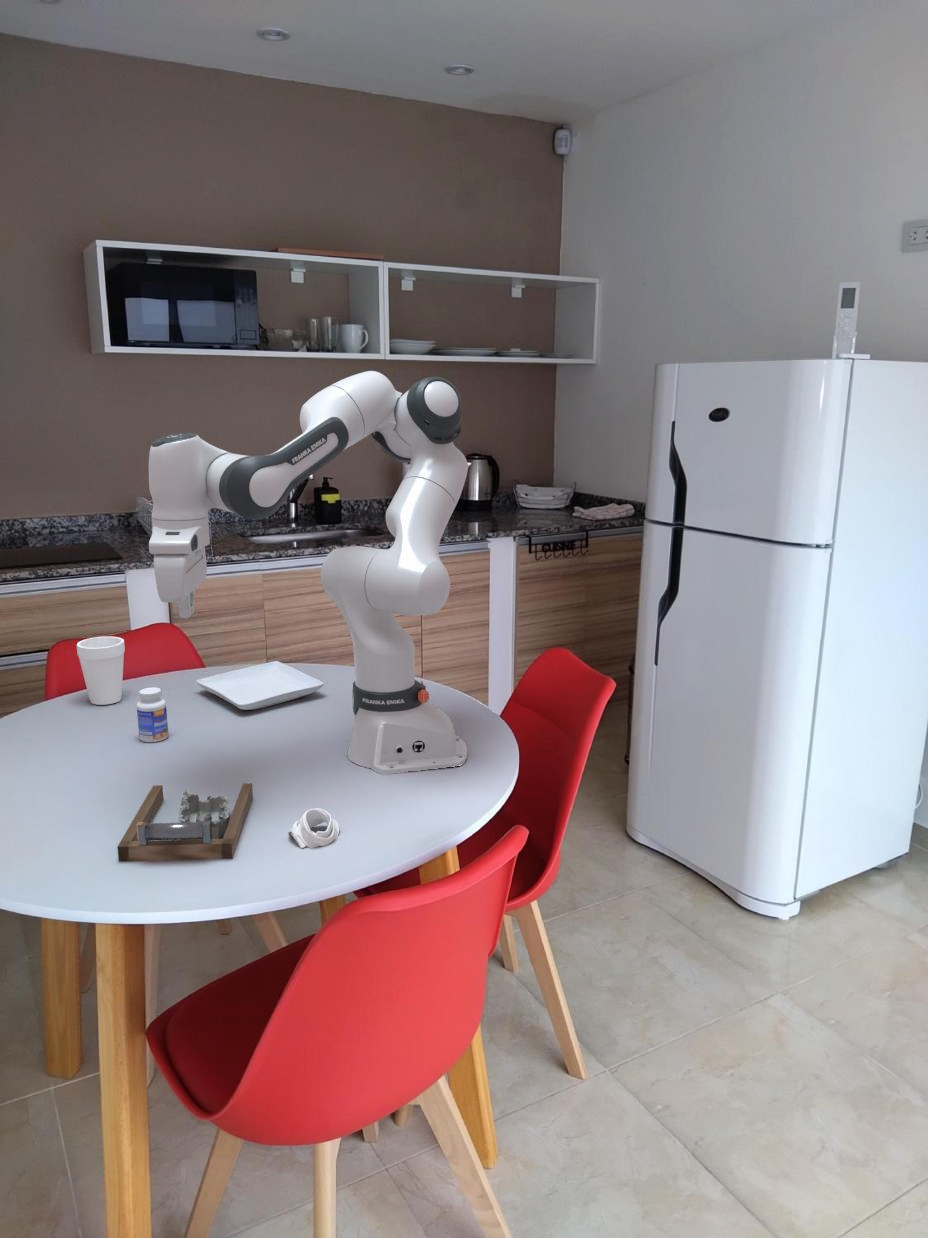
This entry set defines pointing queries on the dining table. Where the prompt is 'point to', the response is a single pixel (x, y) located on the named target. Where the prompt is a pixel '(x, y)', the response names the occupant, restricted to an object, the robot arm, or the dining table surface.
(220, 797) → the egg carton
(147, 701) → the pill bottle
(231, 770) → the dining table surface
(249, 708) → the salad plate
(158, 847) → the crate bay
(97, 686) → the foam cup
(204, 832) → the winch
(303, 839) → the white crumpled cloth
